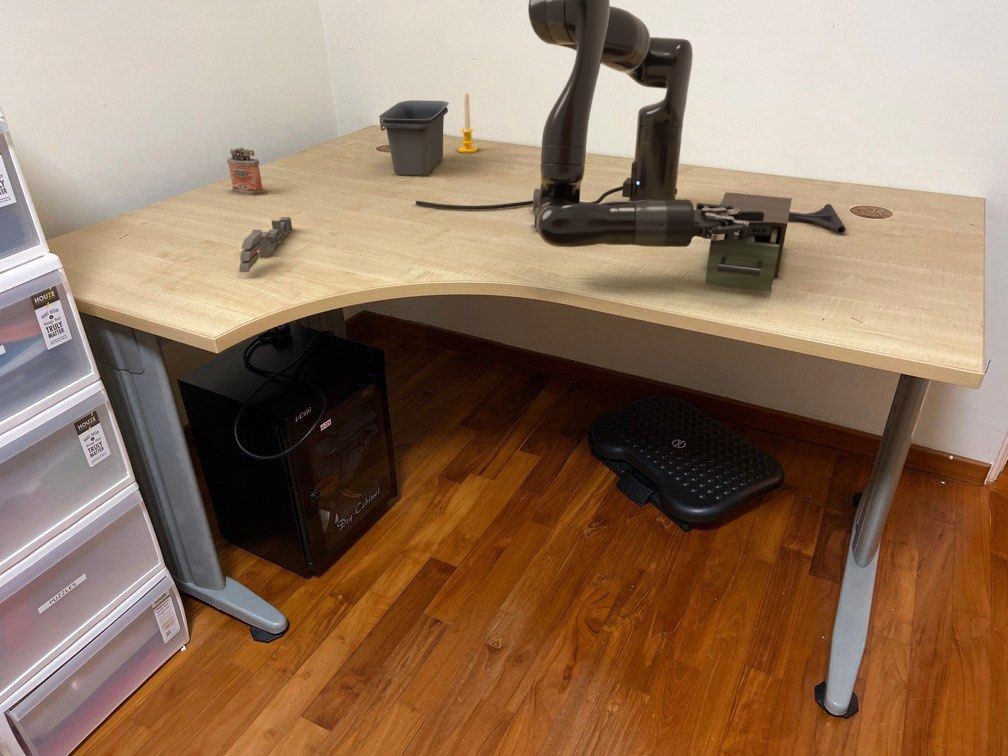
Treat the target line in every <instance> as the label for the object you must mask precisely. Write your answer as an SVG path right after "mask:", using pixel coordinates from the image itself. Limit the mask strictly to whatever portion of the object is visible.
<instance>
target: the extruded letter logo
mask: <svg viewBox="0 0 1008 756" xmlns="http://www.w3.org/2000/svg"><path fill="white" fill-rule="evenodd" d="M292 224H293V223H292V218H291V217H290V216H282V217H280V218H279V219H272V220H271V226H272V228H271V229H268V231H262V229H252V231H251V232H250V234H248V236H247V237H245V238H244V239H243V242H242V245H241V250H242V251H241V252H240V259H239V261H240V264H239V273H249V272H250V270H251V268H252V267H253V266H254V265H255V264H256V263H257V262H258V260H259V257H260V258H269V257H270V256H271V255H272V254H273V252H274V251H275V250H276V248H278V247H279V246H278V245H281V243H282V241H284V240H285V238H287V237H288V234H290V233H291V231H293V225H292Z"/></svg>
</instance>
